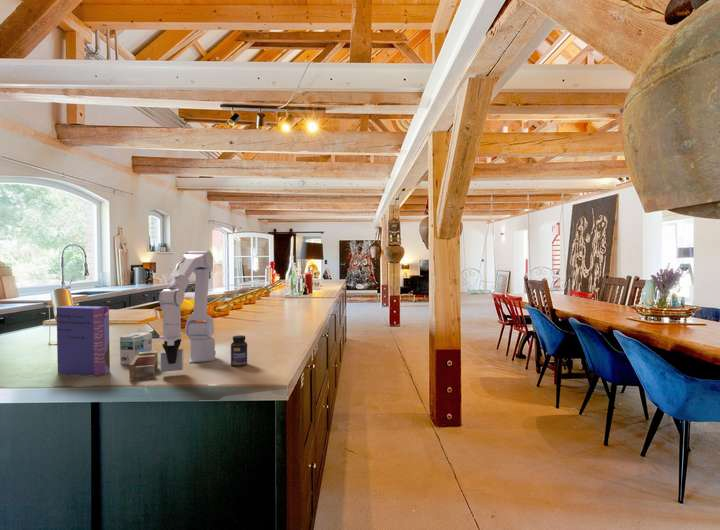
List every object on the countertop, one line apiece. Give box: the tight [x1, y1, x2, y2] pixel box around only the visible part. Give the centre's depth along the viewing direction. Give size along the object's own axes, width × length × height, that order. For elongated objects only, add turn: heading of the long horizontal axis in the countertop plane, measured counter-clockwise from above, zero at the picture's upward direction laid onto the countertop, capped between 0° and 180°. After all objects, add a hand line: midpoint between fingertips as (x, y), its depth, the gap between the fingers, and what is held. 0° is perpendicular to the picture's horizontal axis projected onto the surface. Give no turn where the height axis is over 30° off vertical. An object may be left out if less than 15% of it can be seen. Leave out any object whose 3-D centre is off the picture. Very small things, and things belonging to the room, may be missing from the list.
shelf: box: [128, 350, 159, 382], centre depth 145 cm, size 7×15×6 cm, turn 21°
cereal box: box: [56, 305, 111, 377], centre depth 146 cm, size 17×5×24 cm, turn 78°
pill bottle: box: [230, 335, 248, 367], centre depth 156 cm, size 6×6×11 cm
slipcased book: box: [160, 348, 185, 373], centre depth 143 cm, size 7×4×6 cm, turn 111°
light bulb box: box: [119, 331, 153, 365], centre depth 163 cm, size 11×7×11 cm, turn 172°
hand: (172, 361), depth 143 cm, fingers closed on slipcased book, 4 cm apart
